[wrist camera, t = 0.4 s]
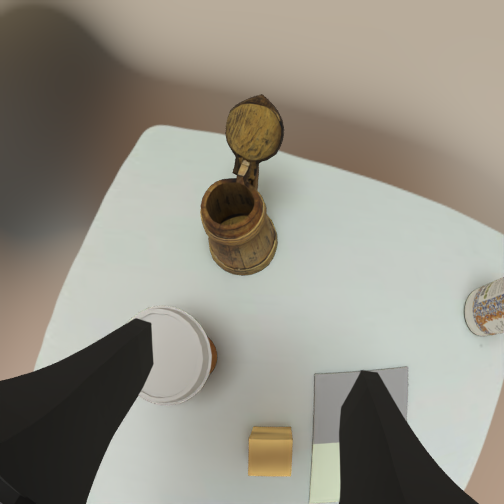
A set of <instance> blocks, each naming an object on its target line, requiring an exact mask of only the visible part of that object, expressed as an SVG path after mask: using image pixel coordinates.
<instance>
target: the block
mask: <svg viewBox="0 0 504 504" xmlns="http://www.w3.org/2000/svg"><path fill="white" fill-rule="evenodd" d="M292 442H293V439H292V432H291V427H253V430H252V432H251V435H250V437H249V460H248V476H291V466H292Z"/></svg>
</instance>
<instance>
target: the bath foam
mask: <svg viewBox="0 0 504 504" xmlns="http://www.w3.org/2000/svg"><path fill="white" fill-rule="evenodd" d="M465 319H466V322H467V325H468V327H469V328H470V330H471V331H472V332H473V333H475V334H476V335H479V336H487V335H494V334H499V333H504V277H502V278H500V279H498V280H496V281H494V282H491V283H489V284H487V285H485V286H483V287H480V288H478V289H476V290H474V291H473V292H472V293H471V294H470V295H469V297H468V299H467V301H466V305H465Z"/></svg>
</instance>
